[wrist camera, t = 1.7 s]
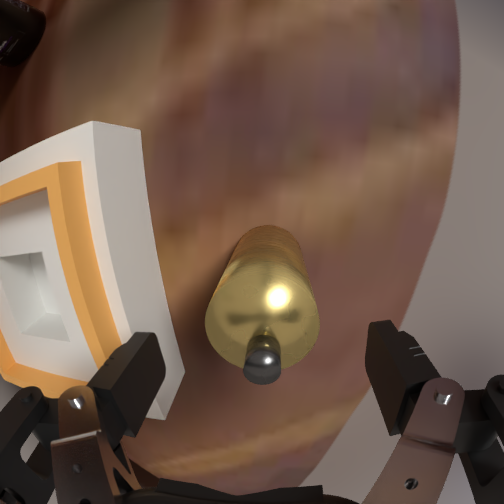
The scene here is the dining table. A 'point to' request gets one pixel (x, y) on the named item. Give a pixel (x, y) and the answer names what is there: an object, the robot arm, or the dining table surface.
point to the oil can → (263, 306)
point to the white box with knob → (79, 261)
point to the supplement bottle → (19, 31)
